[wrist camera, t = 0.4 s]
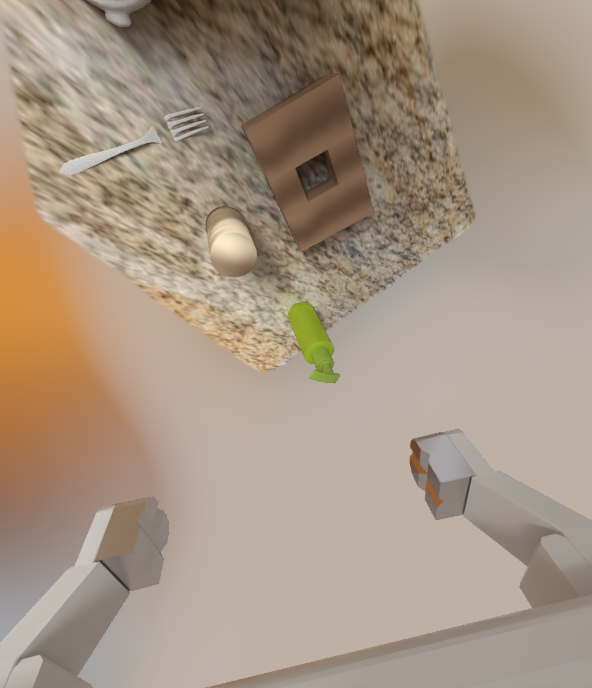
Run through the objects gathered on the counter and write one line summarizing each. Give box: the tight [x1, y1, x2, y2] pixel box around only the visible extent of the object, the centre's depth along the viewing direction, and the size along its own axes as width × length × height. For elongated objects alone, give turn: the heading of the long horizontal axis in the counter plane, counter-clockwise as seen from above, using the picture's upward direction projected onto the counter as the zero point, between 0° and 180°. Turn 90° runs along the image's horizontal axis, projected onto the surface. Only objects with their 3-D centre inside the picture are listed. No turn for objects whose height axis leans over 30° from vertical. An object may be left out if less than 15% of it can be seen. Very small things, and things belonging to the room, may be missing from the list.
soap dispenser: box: [288, 302, 340, 383], centre depth 63 cm, size 6×7×20 cm
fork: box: [60, 106, 209, 175], centre depth 44 cm, size 3×24×2 cm, turn 105°
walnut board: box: [241, 73, 374, 252], centre depth 51 cm, size 20×14×4 cm
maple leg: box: [206, 206, 257, 277], centre depth 49 cm, size 6×6×14 cm
